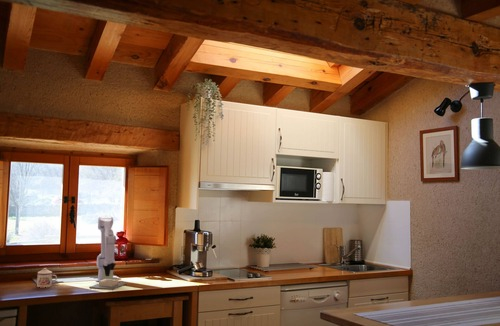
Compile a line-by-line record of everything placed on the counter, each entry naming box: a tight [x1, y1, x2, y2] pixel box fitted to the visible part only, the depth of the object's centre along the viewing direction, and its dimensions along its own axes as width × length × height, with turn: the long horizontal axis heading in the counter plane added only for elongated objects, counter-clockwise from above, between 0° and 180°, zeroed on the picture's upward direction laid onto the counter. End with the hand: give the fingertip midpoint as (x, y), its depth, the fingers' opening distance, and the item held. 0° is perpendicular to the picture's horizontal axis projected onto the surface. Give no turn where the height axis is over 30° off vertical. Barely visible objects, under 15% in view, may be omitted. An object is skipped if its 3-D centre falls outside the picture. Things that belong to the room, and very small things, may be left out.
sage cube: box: [103, 269, 114, 279], centre depth 327 cm, size 5×5×5 cm
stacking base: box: [89, 278, 127, 291], centre depth 326 cm, size 20×16×4 cm
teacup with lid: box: [36, 267, 58, 289], centre depth 320 cm, size 12×9×12 cm
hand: (108, 275), depth 326 cm, fingers closed on sage cube, 5 cm apart
